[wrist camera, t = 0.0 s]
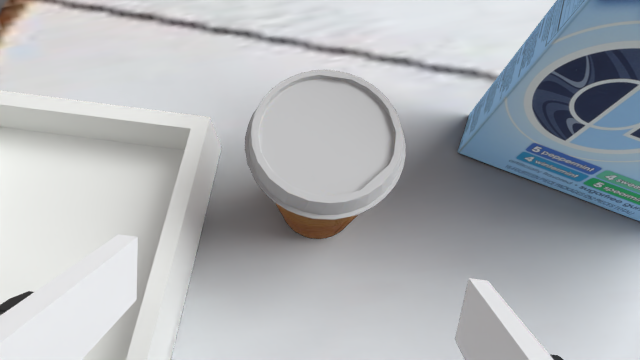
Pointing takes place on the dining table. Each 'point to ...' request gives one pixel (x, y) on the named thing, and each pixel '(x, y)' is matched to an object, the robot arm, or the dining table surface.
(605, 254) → the dining table surface
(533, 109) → the gum box
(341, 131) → the disposable coffee cup
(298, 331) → the dining table surface
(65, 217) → the tray
